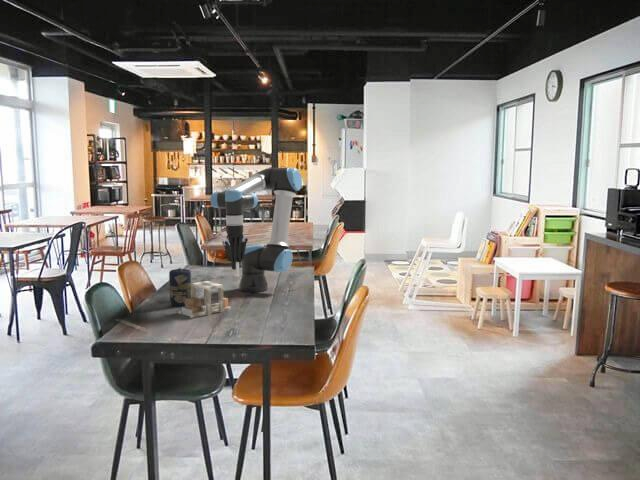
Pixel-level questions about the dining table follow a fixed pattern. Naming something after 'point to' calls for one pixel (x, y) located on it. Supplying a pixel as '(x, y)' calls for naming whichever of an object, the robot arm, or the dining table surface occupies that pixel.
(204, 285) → the cream wooden rail frame
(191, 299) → the block
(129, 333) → the dining table surface
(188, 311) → the orange and grey bar
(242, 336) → the dining table surface
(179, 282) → the canister
